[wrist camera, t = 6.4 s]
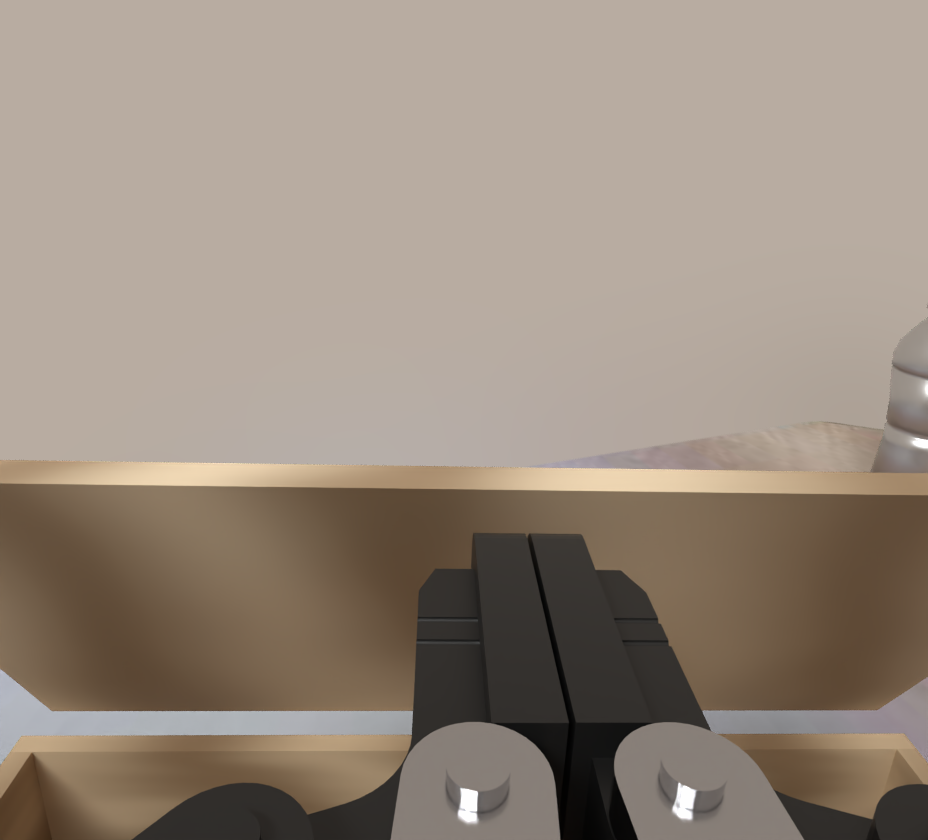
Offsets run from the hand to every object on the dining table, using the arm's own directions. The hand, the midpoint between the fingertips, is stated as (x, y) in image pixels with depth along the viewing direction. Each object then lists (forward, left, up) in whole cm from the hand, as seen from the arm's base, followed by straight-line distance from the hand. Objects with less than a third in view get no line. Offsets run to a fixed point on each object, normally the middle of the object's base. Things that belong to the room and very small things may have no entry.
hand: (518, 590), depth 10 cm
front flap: (0, +3, -3) cm, 4 cm away
